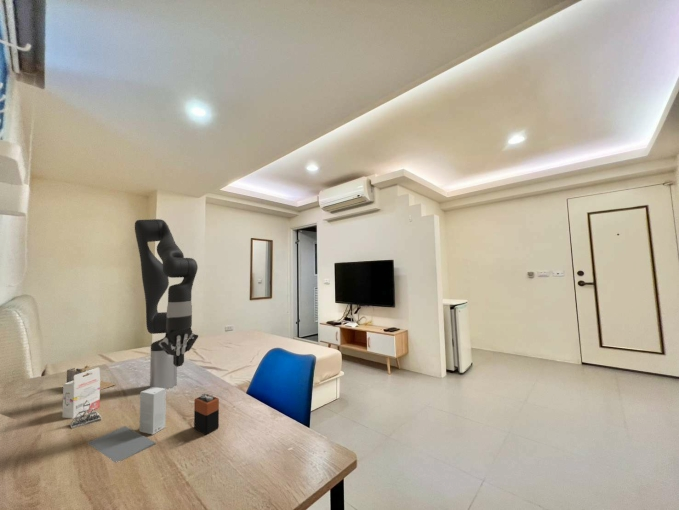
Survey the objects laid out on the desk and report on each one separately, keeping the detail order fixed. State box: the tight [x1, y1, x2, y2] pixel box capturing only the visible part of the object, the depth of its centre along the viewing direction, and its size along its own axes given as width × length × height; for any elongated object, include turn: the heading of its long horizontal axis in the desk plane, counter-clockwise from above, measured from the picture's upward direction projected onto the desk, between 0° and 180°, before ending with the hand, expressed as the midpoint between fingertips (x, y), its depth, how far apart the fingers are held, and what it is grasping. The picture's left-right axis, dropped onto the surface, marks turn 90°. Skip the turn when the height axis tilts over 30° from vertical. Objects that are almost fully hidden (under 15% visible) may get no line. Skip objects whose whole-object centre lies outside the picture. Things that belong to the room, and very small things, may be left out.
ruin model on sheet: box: [61, 364, 116, 391], centre depth 116 cm, size 25×16×10 cm, turn 68°
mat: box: [87, 425, 157, 464], centre depth 73 cm, size 13×18×1 cm
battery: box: [193, 393, 220, 435], centre depth 82 cm, size 4×7×10 cm, turn 58°
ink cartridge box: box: [61, 367, 101, 420], centre depth 94 cm, size 9×5×15 cm, turn 168°
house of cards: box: [69, 400, 102, 429], centre depth 88 cm, size 9×9×8 cm
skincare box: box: [138, 387, 167, 435], centre depth 82 cm, size 6×4×12 cm
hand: (178, 365), depth 90 cm, fingers closed
